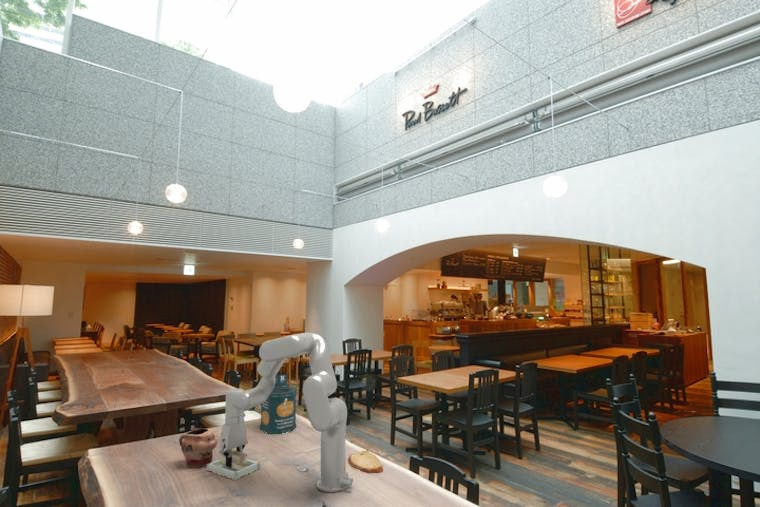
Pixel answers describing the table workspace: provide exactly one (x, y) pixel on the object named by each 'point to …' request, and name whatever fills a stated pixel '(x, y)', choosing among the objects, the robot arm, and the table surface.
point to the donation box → (279, 408)
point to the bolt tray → (233, 472)
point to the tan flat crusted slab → (365, 462)
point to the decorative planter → (198, 447)
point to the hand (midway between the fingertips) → (233, 464)
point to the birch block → (236, 459)
